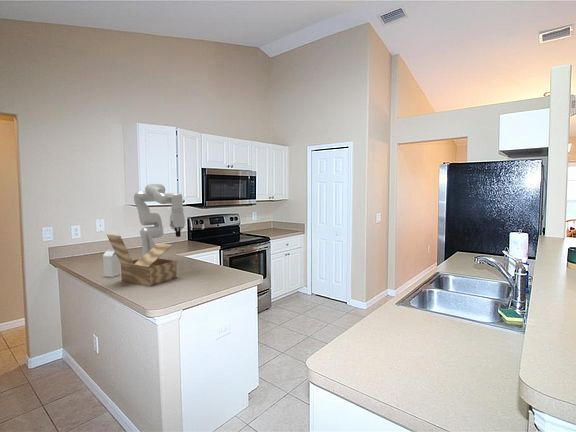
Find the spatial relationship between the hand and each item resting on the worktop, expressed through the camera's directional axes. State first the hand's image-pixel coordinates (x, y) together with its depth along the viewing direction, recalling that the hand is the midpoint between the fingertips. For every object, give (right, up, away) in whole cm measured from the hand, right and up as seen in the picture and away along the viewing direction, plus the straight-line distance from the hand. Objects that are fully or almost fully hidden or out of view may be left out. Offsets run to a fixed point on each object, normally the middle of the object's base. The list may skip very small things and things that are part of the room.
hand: (178, 236), depth 226 cm
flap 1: (-30, -7, -22) cm, 37 cm away
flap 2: (-11, -11, -16) cm, 22 cm away
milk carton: (-47, -28, -1) cm, 55 cm away
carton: (-16, -28, -10) cm, 34 cm away
